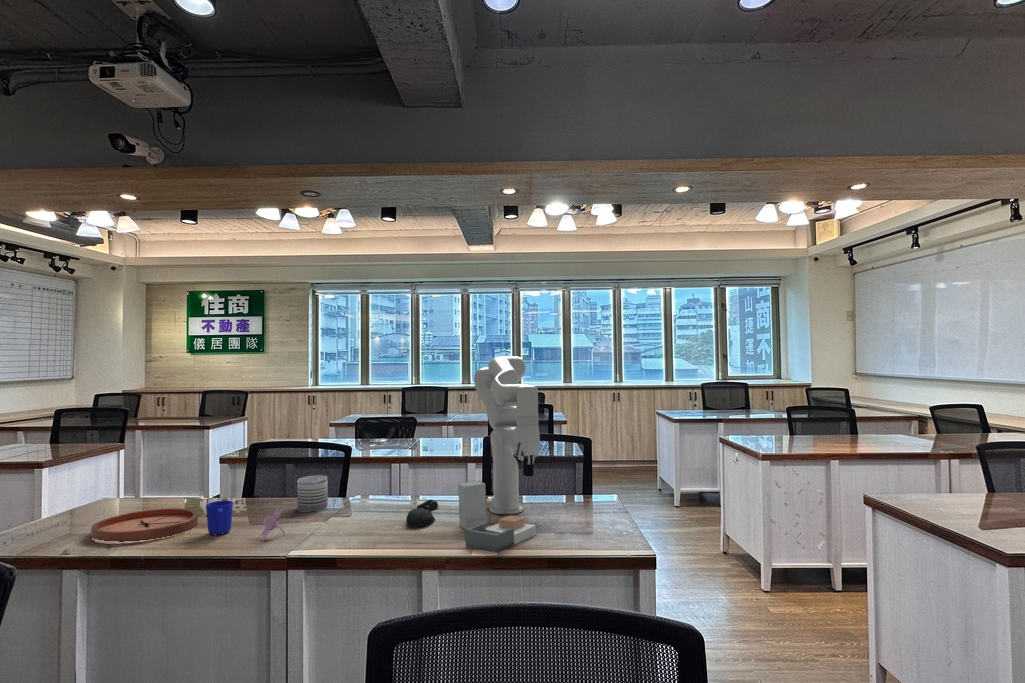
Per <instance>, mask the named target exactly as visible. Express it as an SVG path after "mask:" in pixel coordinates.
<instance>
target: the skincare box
mask: <svg viewBox="0 0 1025 683" xmlns="http://www.w3.org/2000/svg"><path fill="white" fill-rule="evenodd" d="M457 485H458V488H457V489H458V492H457V493H458V517H459V526H461V528H463V529H464V530H466V529H468V528H471V527H474V526H476V525H479V524H481V523H486V524H487V502H486V500H487V499H486V498H487V496H486V492H487V491H486V483H484V482H482V481H481V480H473V481H468V482H467V481H466V482H460V483H457Z"/></svg>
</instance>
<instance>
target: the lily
mask: <svg viewBox="0 0 1025 683" xmlns="http://www.w3.org/2000/svg"><path fill="white" fill-rule="evenodd" d="M284 509H285V507H284V506H282V508H280V506H278V507H277V508H276V510H275V511H274V514H273V515H268V516H266V517H265V518H264V519H263V527H264V529H263V530H262V531H261V534H260V536H261V537H262V540H263V542H264V541H265V539H266V538H267V536H268V534H269V533H270V531H273V530H276V529H280V530H281V531H282V533H283V535H285V534H286V533H285V531H284V530H283V528H282V527H280V526H279V516H280V515H281V513H282V512H283V510H284ZM262 540H261V541H262Z"/></svg>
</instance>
